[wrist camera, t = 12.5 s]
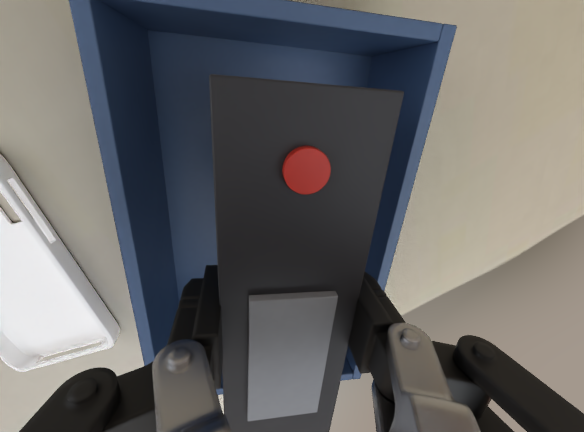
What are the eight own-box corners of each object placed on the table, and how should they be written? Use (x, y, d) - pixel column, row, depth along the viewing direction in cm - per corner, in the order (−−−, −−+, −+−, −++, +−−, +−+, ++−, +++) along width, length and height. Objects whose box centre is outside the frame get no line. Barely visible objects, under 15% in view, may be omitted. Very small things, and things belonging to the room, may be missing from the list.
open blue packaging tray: (174, 320, 22) (151, 402, 16) (136, 16, 14) (60, -35, 8) (332, 309, 25) (360, 378, 19) (379, 46, 16) (457, 25, 10)
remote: (229, 383, 15) (225, 466, 12) (219, 78, 9) (207, 72, 6) (310, 374, 16) (329, 450, 13) (354, 89, 10) (412, 91, 6)
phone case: (-148, 176, 15) (28, 358, 21) (-183, 184, 13) (15, 374, 20) (-3, 144, 15) (124, 332, 22) (-24, 149, 14) (117, 346, 21)
